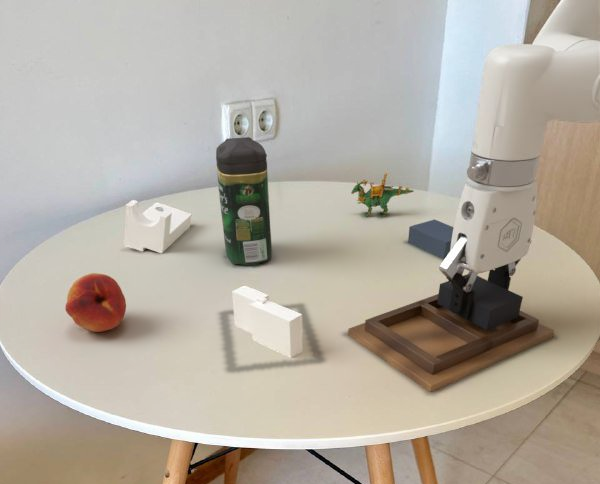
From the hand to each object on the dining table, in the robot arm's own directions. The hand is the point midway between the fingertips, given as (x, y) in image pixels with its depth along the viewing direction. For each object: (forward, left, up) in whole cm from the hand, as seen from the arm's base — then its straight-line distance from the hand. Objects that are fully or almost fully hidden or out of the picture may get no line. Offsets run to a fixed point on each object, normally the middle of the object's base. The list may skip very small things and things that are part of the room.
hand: (477, 306), depth 79 cm
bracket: (+23, -55, -3) cm, 60 cm away
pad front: (-15, -23, -3) cm, 28 cm away
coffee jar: (+14, -39, -3) cm, 42 cm away
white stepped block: (+25, -14, -3) cm, 28 cm away
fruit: (+43, -29, -3) cm, 52 cm away
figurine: (-17, -41, -3) cm, 45 cm away
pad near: (0, 0, -1) cm, 1 cm away
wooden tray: (+5, 0, -3) cm, 6 cm away
